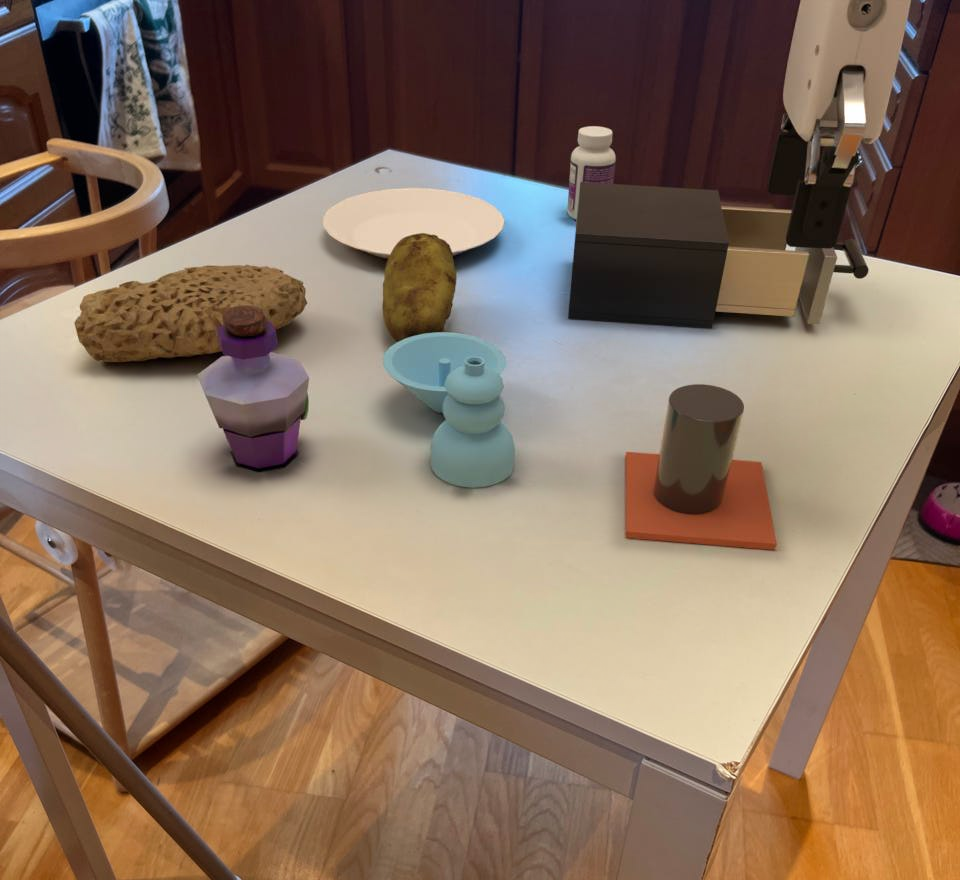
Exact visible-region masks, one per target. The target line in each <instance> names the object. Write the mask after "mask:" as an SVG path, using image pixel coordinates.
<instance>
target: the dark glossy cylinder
mask: <svg viewBox="0 0 960 880" xmlns="http://www.w3.org/2000/svg"><path fill="white" fill-rule="evenodd" d="M666 406H667V408H666V411H665V412H666V413H665V419H664V424H663V430H662V435H661V442H660V446H659V447H660V448H659V453H658V454H659V458H658V464H657V470H656V475H655V481H654V487H653V493H654V496H655V498H656V499H657V501H658V502H659V503H661V504H662V505H663V506H665V507H666V508H668V509H671V510H673V511H676V512H679V513H684V514H704V513H708V512H711V511H713V510H715V509H717V508H718V507H719V506H720V505H721V503H722V501H723V497H724V493H725V488H726V484H727V480H728V476H729V471H730V467H731V463H732V460H734V459H733V457H734V454H735V450H736V445H737V441H738V436H739V433H740V429H741V424H742V420H743V416H744V411H745V404H744V402H743V400H742V399H741V398H740V397H739V396H738V395H737V394H735V392H733V391H731V390H728V389H726V388H723V387H721V386H717V385H711V384H702V383H701V384H700V383H697V384H695V383H694V384H687V385H683V386H680V387H678V388H676V389H674V390H673V391H672V392H671V393H670V394H669V397H668V402H667V405H666Z"/></svg>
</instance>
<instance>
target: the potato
mask: <svg viewBox="0 0 960 880" xmlns="http://www.w3.org/2000/svg"><path fill="white" fill-rule="evenodd" d="M457 276H458V275H457V270H456V267H455V263H454V256H453V254H452V251H451V248H450V245H449V244H448V243H447V242H446V241H445V240H443V239H440V238H438V236H436V235H430V234H426V233H420V234H413V235H410V236H407V237H404V238H403V239H401V240H400V241H399V242H398V243H397V244H396V245H395V247H394V248H393V250H392V252H391V254H390V256H389V258H388V259H387V261H386V264H385V270H384V279H383V283H382V318H383V322H384V326H385V329H386V331H387V332H388V334H389V336H390V337H391V339H393V341H395V343H397V342H399V341H401V340H403V339H406V338H409V337H412V336H415V335H421V334H426V333H436V332H445V326H446V323H447V320H449V318H450V316H451V314H452V313H451V312H452V308H453V306H454V303H453V301H454V298H455V293H456V286H457Z"/></svg>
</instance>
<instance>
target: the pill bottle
mask: <svg viewBox="0 0 960 880" xmlns="http://www.w3.org/2000/svg"><path fill="white" fill-rule="evenodd" d="M612 143H613V130H612V129H610V128H609V127H604V126H599V125H598V126H595V125H591V126H589V125H588V126H584V127H581V128H579V129H578V134H577V144H578V146H576V147H575V148H574V149H573V151H572V152H571V155H570V166H569V167H570V168H569V178H568V179H569V180H568V181H569V182H568V193H567V194H568V195H567V208H566V209H567V210H566V211H567V215H568V216H569V217H570V218H572V219H573V220H575V221H577V212H578V201H579V191H580V182H586V183H603V184H614V180H615V171H616V170H615V169H616V162H617V161H616V160H617V156H616V153H615V151H614V150H613V149H612V148H611V145H612Z"/></svg>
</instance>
